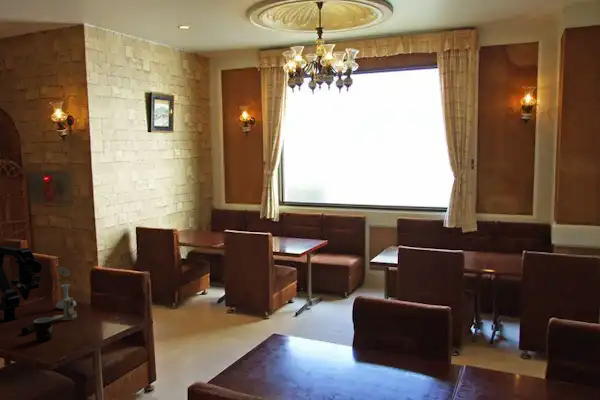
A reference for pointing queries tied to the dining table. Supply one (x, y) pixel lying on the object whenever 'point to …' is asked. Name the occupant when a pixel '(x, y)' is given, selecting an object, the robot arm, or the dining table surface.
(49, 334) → the coffee mug
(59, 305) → the flower in vase
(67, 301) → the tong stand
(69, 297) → the sliding jaw
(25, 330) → the hand tool
